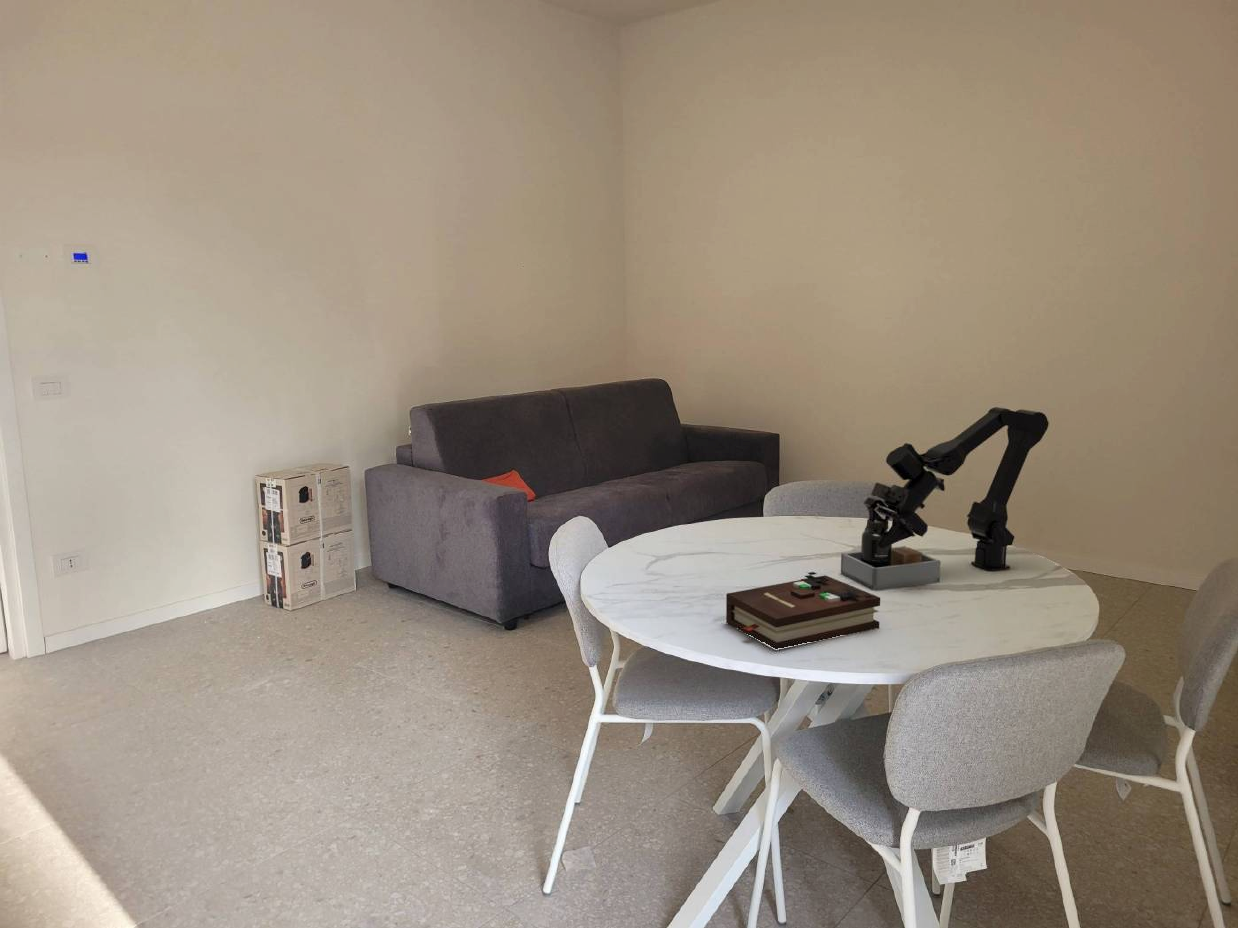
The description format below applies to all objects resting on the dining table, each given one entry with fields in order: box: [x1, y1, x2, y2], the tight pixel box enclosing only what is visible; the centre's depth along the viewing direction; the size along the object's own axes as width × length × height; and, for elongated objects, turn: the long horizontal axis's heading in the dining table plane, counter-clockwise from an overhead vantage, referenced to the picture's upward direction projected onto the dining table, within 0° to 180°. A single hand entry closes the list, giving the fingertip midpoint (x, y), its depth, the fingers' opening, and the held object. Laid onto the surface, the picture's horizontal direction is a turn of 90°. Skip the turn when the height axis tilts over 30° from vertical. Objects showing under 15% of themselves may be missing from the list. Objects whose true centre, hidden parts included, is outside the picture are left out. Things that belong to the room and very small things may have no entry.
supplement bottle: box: [860, 518, 893, 568], centre depth 211 cm, size 7×7×12 cm
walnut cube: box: [891, 546, 923, 566], centre depth 215 cm, size 5×5×5 cm
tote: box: [840, 545, 941, 591], centre depth 213 cm, size 18×14×5 cm
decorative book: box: [725, 571, 881, 649], centre depth 183 cm, size 19×8×30 cm
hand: (871, 543), depth 211 cm, fingers closed on supplement bottle, 7 cm apart
